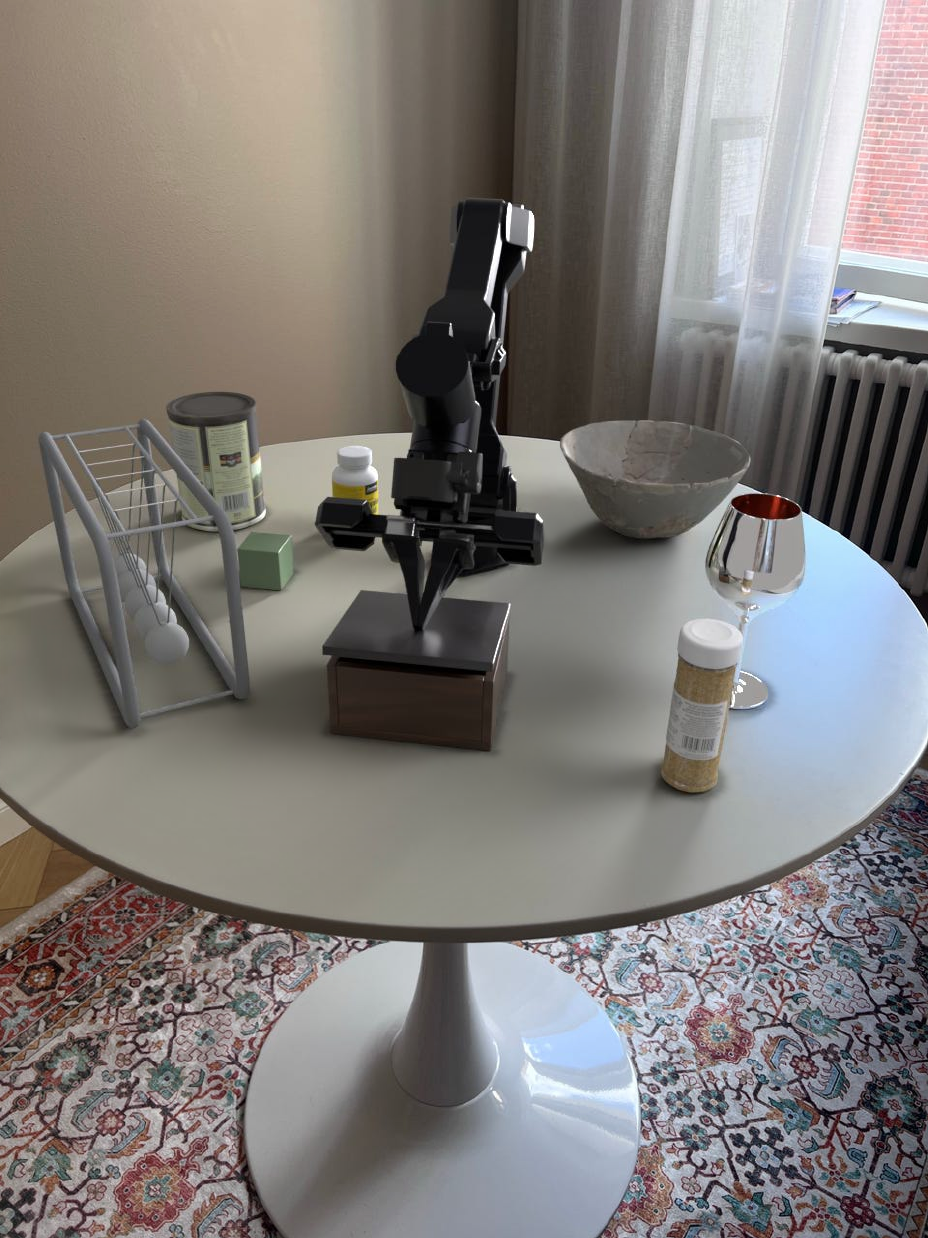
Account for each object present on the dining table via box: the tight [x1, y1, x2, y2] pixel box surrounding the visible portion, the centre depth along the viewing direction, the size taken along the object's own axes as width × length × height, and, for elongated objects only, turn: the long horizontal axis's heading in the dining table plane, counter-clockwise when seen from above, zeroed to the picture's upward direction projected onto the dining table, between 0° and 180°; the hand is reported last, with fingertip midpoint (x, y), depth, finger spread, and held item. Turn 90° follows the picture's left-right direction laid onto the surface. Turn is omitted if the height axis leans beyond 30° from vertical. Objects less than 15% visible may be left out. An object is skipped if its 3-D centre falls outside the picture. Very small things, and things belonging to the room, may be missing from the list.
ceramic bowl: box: [559, 419, 751, 539], centre depth 119 cm, size 22×23×10 cm
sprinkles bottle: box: [660, 618, 743, 793], centre depth 75 cm, size 5×5×14 cm
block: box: [236, 531, 295, 591], centre depth 106 cm, size 4×4×4 cm
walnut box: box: [326, 612, 511, 752], centre depth 85 cm, size 12×14×7 cm
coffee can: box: [165, 391, 267, 533], centre depth 118 cm, size 10×10×14 cm
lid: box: [321, 589, 511, 672], centre depth 83 cm, size 12×14×1 cm
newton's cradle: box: [38, 418, 251, 729], centre depth 91 cm, size 30×10×18 cm, turn 29°
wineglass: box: [704, 492, 806, 710], centre depth 86 cm, size 8×8×18 cm
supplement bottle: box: [331, 445, 379, 515], centre depth 117 cm, size 5×5×10 cm
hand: (418, 629), depth 81 cm, fingers closed, pressing on lid
